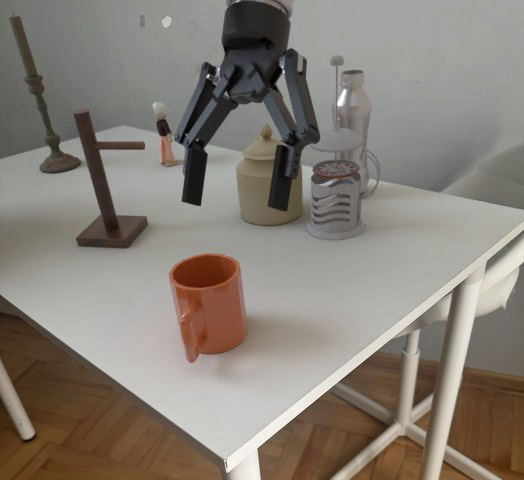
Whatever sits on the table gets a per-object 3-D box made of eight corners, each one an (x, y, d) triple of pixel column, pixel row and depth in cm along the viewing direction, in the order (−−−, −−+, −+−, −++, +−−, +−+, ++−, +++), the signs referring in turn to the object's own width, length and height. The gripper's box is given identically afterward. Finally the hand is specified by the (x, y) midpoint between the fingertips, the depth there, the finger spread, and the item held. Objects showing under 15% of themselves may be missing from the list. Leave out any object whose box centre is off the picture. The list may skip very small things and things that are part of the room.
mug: (194, 312, 71) (183, 252, 66) (254, 317, 69) (247, 255, 64) (159, 373, 62) (143, 308, 56) (227, 380, 60) (217, 314, 54)
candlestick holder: (84, 157, 126) (42, 7, 107) (76, 171, 119) (29, 12, 100) (45, 161, 126) (-4, 11, 107) (35, 175, 119) (-19, 17, 100)
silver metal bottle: (362, 201, 95) (367, 77, 82) (326, 197, 97) (326, 76, 85) (372, 187, 99) (379, 67, 87) (337, 184, 102) (339, 67, 89)
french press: (313, 211, 93) (310, 48, 77) (380, 215, 90) (392, 46, 74) (298, 237, 86) (292, 63, 70) (371, 243, 82) (382, 62, 67)
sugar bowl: (218, 204, 98) (207, 119, 89) (269, 188, 103) (263, 105, 93) (262, 232, 88) (254, 138, 79) (316, 213, 92) (314, 122, 83)
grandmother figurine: (153, 162, 120) (141, 101, 112) (168, 157, 121) (157, 97, 113) (170, 170, 115) (159, 107, 107) (185, 165, 116) (175, 103, 108)
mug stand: (77, 245, 89) (37, 120, 77) (102, 222, 96) (69, 103, 84) (152, 249, 86) (123, 119, 74) (172, 224, 93) (148, 102, 81)
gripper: (373, 11, 56) (338, 218, 59) (202, 44, 71) (181, 207, 73) (337, -28, 50) (300, 204, 53) (159, 17, 65) (138, 196, 67)
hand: (231, 206), depth 63 cm, fingers open, 13 cm apart
